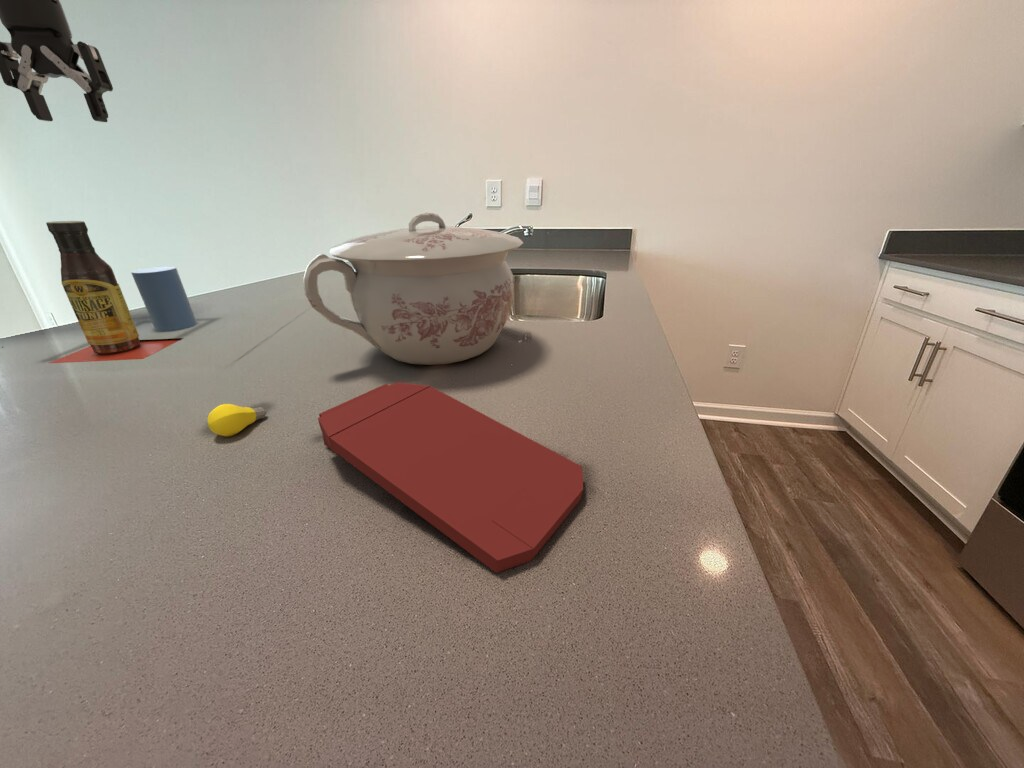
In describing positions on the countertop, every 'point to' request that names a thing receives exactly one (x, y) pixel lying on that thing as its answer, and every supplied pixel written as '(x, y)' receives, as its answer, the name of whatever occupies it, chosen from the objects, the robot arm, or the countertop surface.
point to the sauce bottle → (93, 291)
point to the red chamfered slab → (457, 469)
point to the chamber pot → (423, 289)
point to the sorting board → (138, 352)
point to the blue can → (164, 298)
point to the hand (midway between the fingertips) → (73, 121)
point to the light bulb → (232, 418)
